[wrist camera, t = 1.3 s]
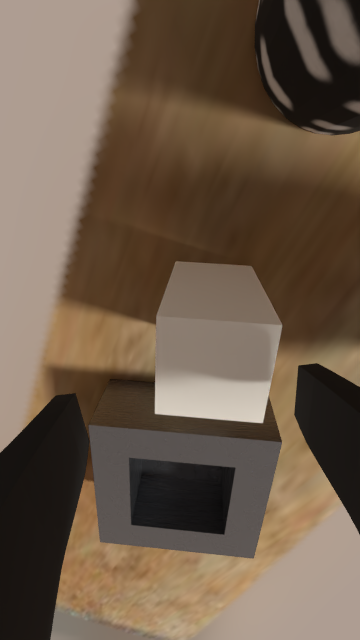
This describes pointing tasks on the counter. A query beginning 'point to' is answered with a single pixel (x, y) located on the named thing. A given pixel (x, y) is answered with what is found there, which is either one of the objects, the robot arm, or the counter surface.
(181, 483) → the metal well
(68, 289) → the counter surface
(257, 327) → the ivory block
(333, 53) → the spotted tube
